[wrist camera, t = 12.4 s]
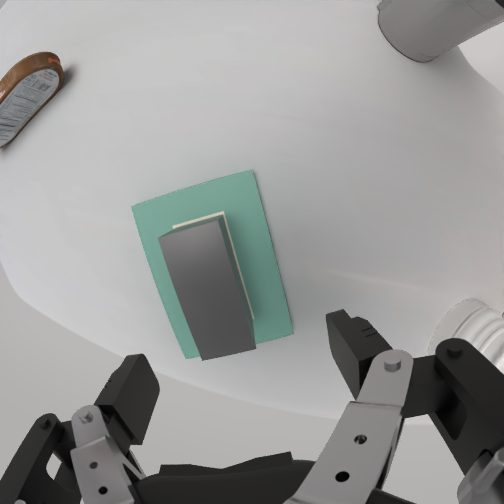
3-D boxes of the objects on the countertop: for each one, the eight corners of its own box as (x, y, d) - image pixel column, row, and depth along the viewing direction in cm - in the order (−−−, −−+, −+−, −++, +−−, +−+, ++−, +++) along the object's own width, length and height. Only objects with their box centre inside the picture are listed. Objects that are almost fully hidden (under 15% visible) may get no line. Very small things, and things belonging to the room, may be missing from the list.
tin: (71, 64, 22) (34, 39, 14) (78, 79, 23) (39, 55, 14) (-2, 141, 23) (-43, 137, 15) (3, 158, 24) (-40, 156, 15)
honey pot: (493, 307, 32) (566, 351, 14) (458, 374, 34) (517, 433, 16) (454, 289, 30) (548, 343, 13) (413, 369, 33) (481, 448, 15)
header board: (136, 205, 26) (116, 208, 21) (251, 170, 26) (254, 165, 21) (187, 352, 30) (180, 377, 25) (291, 327, 30) (300, 351, 25)
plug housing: (175, 227, 25) (157, 237, 19) (222, 214, 25) (218, 220, 19) (208, 328, 28) (202, 360, 22) (252, 317, 28) (256, 348, 22)
